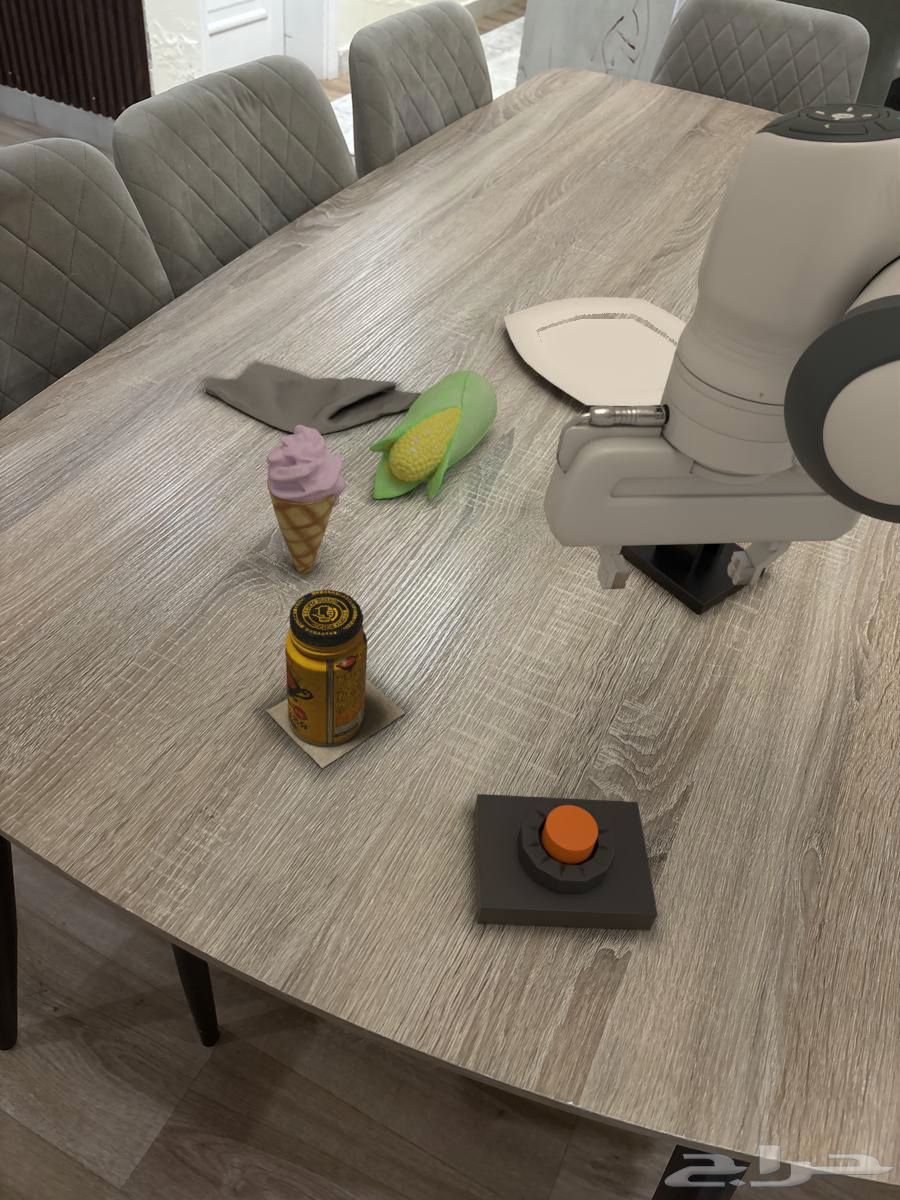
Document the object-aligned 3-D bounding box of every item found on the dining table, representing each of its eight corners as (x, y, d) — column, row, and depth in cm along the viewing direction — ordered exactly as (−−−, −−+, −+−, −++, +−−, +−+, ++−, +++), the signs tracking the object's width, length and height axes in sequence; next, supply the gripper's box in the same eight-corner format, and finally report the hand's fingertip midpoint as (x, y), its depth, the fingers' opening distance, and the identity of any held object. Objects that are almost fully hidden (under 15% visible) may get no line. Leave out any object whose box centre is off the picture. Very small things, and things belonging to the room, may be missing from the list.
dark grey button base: (631, 818, 71) (643, 787, 68) (649, 930, 65) (664, 901, 62) (473, 810, 70) (480, 779, 68) (477, 923, 64) (484, 894, 61)
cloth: (183, 417, 103) (181, 400, 102) (224, 356, 113) (223, 339, 112) (416, 457, 102) (417, 439, 101) (436, 391, 112) (438, 375, 110)
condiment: (265, 712, 75) (258, 605, 67) (348, 663, 80) (351, 557, 71) (322, 770, 72) (322, 665, 63) (405, 715, 76) (415, 610, 68)
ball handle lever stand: (763, 575, 93) (809, 471, 85) (699, 615, 88) (741, 508, 79) (672, 511, 100) (706, 408, 91) (607, 545, 94) (637, 439, 86)
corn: (528, 397, 104) (444, 491, 91) (484, 433, 110) (399, 526, 97) (478, 340, 102) (386, 428, 89) (436, 379, 108) (344, 467, 95)
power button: (589, 819, 67) (594, 805, 65) (596, 865, 64) (601, 851, 63) (539, 817, 66) (543, 803, 65) (543, 863, 64) (548, 849, 62)
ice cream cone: (334, 543, 91) (337, 410, 80) (350, 586, 87) (355, 451, 76) (265, 552, 89) (258, 417, 78) (278, 597, 85) (273, 460, 74)
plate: (576, 433, 109) (579, 419, 107) (476, 322, 126) (478, 309, 124) (759, 399, 118) (764, 385, 117) (644, 300, 135) (647, 288, 134)
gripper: (579, 439, 51) (538, 619, 60) (920, 437, 54) (830, 608, 64) (553, 377, 55) (519, 554, 65) (870, 379, 59) (793, 547, 68)
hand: (675, 581), depth 64 cm, fingers open, 8 cm apart
